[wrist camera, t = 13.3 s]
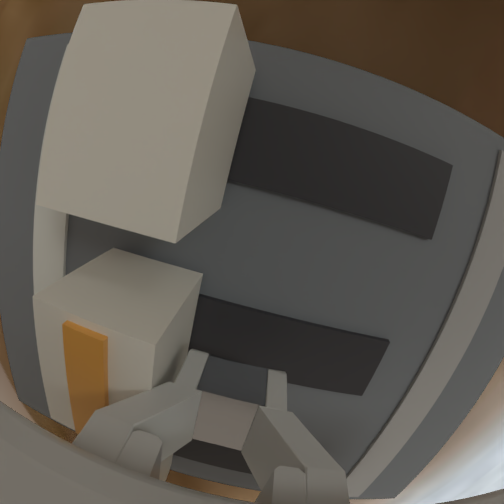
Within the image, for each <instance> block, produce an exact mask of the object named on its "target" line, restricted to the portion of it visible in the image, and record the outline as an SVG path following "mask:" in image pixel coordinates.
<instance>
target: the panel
mask: <svg viewBox="0 0 504 504" xmlns="http://www.w3.org/2000/svg"><path fill="white" fill-rule="evenodd" d="M71 36H72V33H64V34H55V35H48V36H40V37H34V38H28V39H27V40H26V43H25V46H24V49H23V52H22V55H21V58H20V62H19V65H18V68H17V72H16V75H15V79H14V83H13V87H12V91H11V95H10V99H9V104H8V108H7V113H6V118H5V124H4V129H3V135H2V142H1V149H0V314H1V321H2V327H3V333H4V339H5V344H6V349H7V354H8V359H9V364H10V368H11V372H12V376H13V380H14V384H15V388H16V392H17V395H18V399H19V400H20V401H21V402H23V403H24V404H26V405H28V406H29V407H31V408H33V409H34V410H36V411H38V412H39V413H41V414H43V415H45V416H47V417H48V418H50V419H52V418H51V416H50V412H49V408H48V403H47V399H46V394H45V389H44V384H43V379H42V374H41V368H40V362H39V355H38V348H37V340H36V332H35V323H34V311H33V297H32V296H33V295H35V294H37V293H38V292H40V291H41V290H43V289H45V288H46V287H48V286H49V285H51V284H53V283H54V282H56V281H57V280H59V279H61V278H62V277H64V276H66V275H67V274H69V273H71V272H72V271H74V270H76V269H77V268H79V267H81V266H83V265H84V264H86V263H88V262H89V261H91V260H93V259H95V258H96V257H98V256H100V255H102V254H103V253H105V252H107V251H109V250H110V249H112V248H116V249H120V250H123V251H126V252H130V253H133V254H136V255H140V256H143V257H146V258H150V259H153V260H157V261H160V262H164V263H167V264H171V265H174V266H178V267H181V268H185V269H188V270H192V271H196V272H199V273H203V277H202V281H201V286H200V291H199V296H198V301H197V306H196V311H195V316H194V322H193V327H192V332H191V337H190V343H189V348H188V353H189V351H190V350H191V349H196V350H199V351H203V352H206V353H209V354H213V355H217V356H220V357H223V358H227V359H231V360H234V361H238V362H241V363H245V364H248V365H253V366H257V367H261V368H266V369H273V370H279V371H284V372H286V374H287V411H289V412H293V413H294V414H295V416H296V417H297V418H298V419H299V420H300V421H301V423H302V424H303V425H304V426H305V427H306V428H307V430H308V431H309V432H310V433H311V434H312V435H313V436H314V438H315V439H316V440H317V441H318V442H319V443H320V444H321V445H322V447H323V448H324V449H325V450H326V451H327V452H328V453H329V454H330V455H331V457H332V458H333V459H334V460H335V461H336V462H337V463H338V464H339V465H340V466H341V467H342V469H343V470H344V471H345V474H346V480H347V487H348V494H349V499H387V498H395V497H396V496H397V495H398V494H399V493H400V492H401V491H402V490H403V489H404V488H405V487H406V486H407V485H408V484H409V483H410V482H411V481H412V480H413V479H414V478H415V477H416V476H417V475H418V474H419V473H420V472H421V471H422V470H423V469H424V468H425V466H426V465H427V464H428V463H429V462H430V461H431V460H432V459H433V457H434V456H435V455H436V454H437V453H438V452H439V450H440V449H441V448H442V447H443V446H444V444H445V443H446V442H447V441H448V439H449V438H450V437H451V436H452V434H453V433H454V432H455V430H456V429H457V428H458V427H459V425H460V424H461V423H462V421H463V420H464V418H465V417H466V416H467V414H468V413H469V411H470V410H471V409H472V407H473V406H474V404H475V403H476V401H477V400H478V398H479V397H480V395H481V394H482V392H483V391H484V389H485V388H486V386H487V384H488V383H489V381H490V380H491V378H492V376H493V375H494V373H495V371H496V370H497V368H498V366H499V364H500V363H501V361H502V359H503V357H504V138H503V137H501V136H500V135H498V134H497V133H495V132H493V131H492V130H490V129H489V128H487V127H485V126H483V125H482V124H480V123H478V122H477V121H475V120H473V119H471V118H469V117H468V116H466V115H464V114H462V113H460V112H458V111H456V110H454V109H453V108H451V107H449V106H447V105H445V104H443V103H441V102H439V101H437V100H434V99H432V98H430V97H428V96H426V95H424V94H422V93H419V92H417V91H415V90H413V89H410V88H408V87H406V86H403V85H401V84H398V83H396V82H393V81H391V80H388V79H386V78H383V77H381V76H378V75H375V74H372V73H370V72H367V71H364V70H361V69H358V68H355V67H352V66H349V65H346V64H343V63H340V62H337V61H333V60H330V59H327V58H323V57H320V56H316V55H312V54H309V53H305V52H301V51H297V50H293V49H288V48H284V47H279V46H275V45H270V44H265V43H260V42H255V41H249V40H248V44H249V47H250V51H251V55H252V58H253V62H254V65H255V69H256V71H255V75H254V79H253V82H252V86H251V90H250V93H249V97H248V101H247V104H246V108H245V112H244V116H243V119H242V123H241V127H240V131H239V135H238V139H237V143H236V147H235V151H234V155H233V159H232V163H231V167H230V171H229V175H228V179H227V183H226V187H225V192H224V196H223V200H222V204H221V208H220V209H219V210H218V211H216V212H215V213H214V214H212V215H211V216H210V217H209V218H207V219H206V220H205V221H203V222H202V223H201V224H200V225H198V226H197V227H196V228H195V229H193V230H192V231H191V232H190V233H188V234H187V235H186V236H184V237H183V238H182V239H181V240H179V241H178V242H177V243H176V244H175V243H172V242H168V241H164V240H161V239H157V238H153V237H150V236H146V235H142V234H139V233H135V232H131V231H128V230H124V229H121V228H117V227H113V226H110V225H106V224H103V223H99V222H96V221H92V220H88V219H85V218H81V217H78V216H74V215H71V214H67V213H64V212H60V211H57V210H53V209H50V208H46V207H43V206H39V205H36V199H37V189H38V179H39V171H40V164H41V157H42V150H43V144H44V138H45V133H46V128H47V123H48V118H49V113H50V109H51V104H52V100H53V96H54V92H55V88H56V84H57V80H58V77H59V73H60V70H61V66H62V63H63V60H64V57H65V54H66V51H67V48H68V45H69V42H70V39H71ZM187 355H188V354H187ZM52 420H54V419H52ZM54 421H56V420H54ZM56 422H57V421H56ZM57 423H59V422H57ZM59 424H61V423H59ZM61 425H63V424H61ZM63 426H65V425H63ZM65 427H67V426H65ZM67 428H69V427H67ZM69 429H71V428H69ZM71 430H73V429H71ZM73 431H75V430H73ZM75 432H76V431H75ZM170 470H173V471H176V472H180V473H183V474H187V475H190V476H194V477H198V478H201V479H205V480H209V481H213V482H218V483H222V484H227V485H231V486H236V487H241V488H247V489H252V490H258V491H261V489H260V487H259V486H258V484H257V482H256V480H255V478H254V476H253V474H252V472H251V470H250V469H249V467H248V465H247V463H246V461H245V459H244V457H243V455H242V453H241V451H240V450H236V449H232V448H228V447H224V446H221V445H217V444H212V443H208V442H204V441H200V440H196V439H192V440H191V441H190V442H189V443H187V444H186V445H184V446H183V447H182V448H180V449H179V450H177V451H176V452H174V453H173V457H172V464H171V467H170Z"/></svg>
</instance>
